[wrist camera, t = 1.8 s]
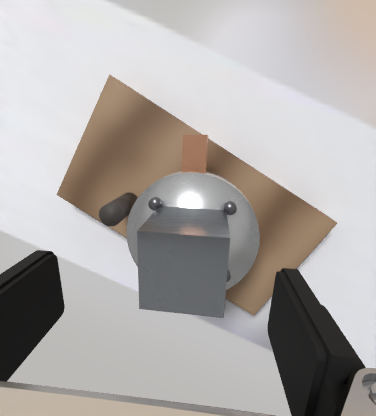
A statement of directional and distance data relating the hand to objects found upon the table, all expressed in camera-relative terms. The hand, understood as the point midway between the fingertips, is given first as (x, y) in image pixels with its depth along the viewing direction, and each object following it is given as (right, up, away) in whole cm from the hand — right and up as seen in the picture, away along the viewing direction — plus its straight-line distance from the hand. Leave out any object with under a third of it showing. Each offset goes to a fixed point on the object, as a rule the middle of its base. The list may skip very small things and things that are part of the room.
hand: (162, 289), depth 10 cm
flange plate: (+1, +3, +7) cm, 8 cm away
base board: (+1, +4, +12) cm, 13 cm away
